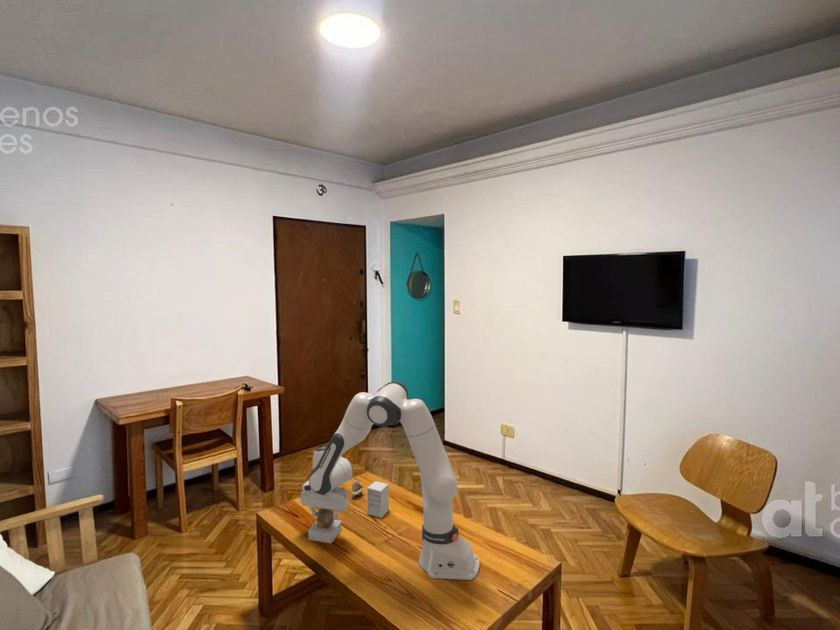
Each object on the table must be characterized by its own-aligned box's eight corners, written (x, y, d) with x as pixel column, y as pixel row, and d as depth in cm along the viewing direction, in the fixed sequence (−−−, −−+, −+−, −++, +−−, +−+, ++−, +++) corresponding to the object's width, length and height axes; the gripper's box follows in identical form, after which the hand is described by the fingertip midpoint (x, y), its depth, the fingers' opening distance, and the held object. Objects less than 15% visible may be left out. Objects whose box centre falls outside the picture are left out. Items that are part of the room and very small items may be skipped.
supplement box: (375, 506, 208) (375, 480, 207) (389, 510, 205) (389, 483, 204) (367, 514, 202) (366, 487, 200) (381, 518, 198) (380, 490, 197)
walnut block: (333, 522, 187) (333, 508, 187) (328, 528, 183) (327, 514, 182) (322, 520, 189) (322, 506, 188) (317, 527, 184) (316, 513, 183)
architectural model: (365, 495, 220) (365, 480, 219) (356, 501, 214) (355, 486, 213) (359, 493, 222) (359, 479, 221) (350, 499, 216) (350, 484, 215)
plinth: (341, 529, 190) (341, 519, 189) (330, 543, 180) (330, 533, 180) (320, 526, 192) (320, 516, 192) (308, 539, 183) (308, 529, 182)
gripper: (351, 484, 184) (351, 517, 186) (306, 478, 190) (307, 510, 191) (344, 492, 178) (345, 525, 180) (298, 485, 184) (299, 518, 185)
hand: (325, 517), depth 185 cm, fingers open, 8 cm apart
